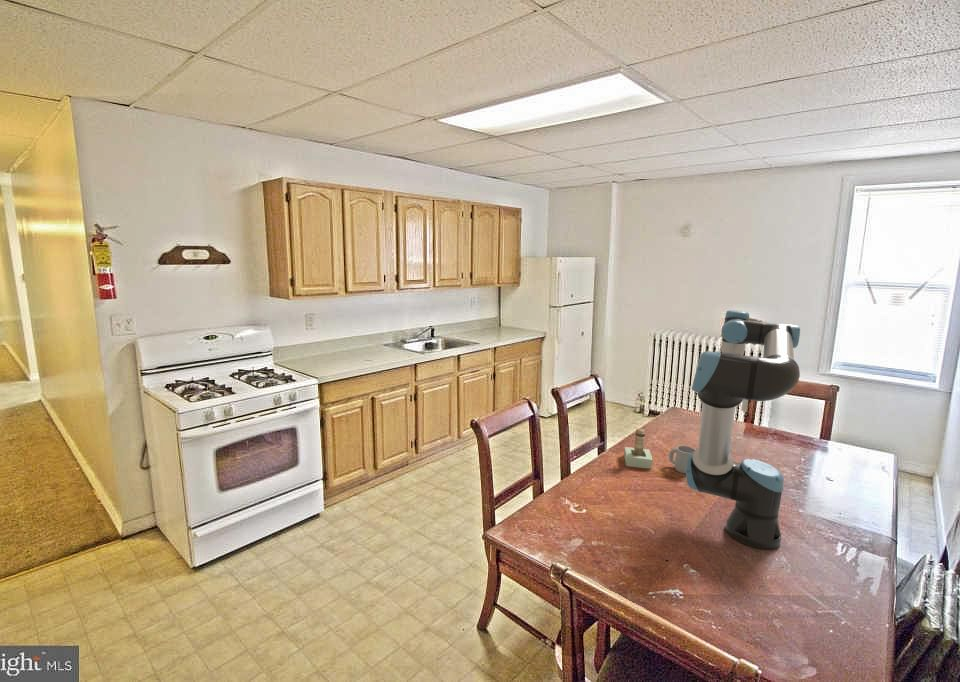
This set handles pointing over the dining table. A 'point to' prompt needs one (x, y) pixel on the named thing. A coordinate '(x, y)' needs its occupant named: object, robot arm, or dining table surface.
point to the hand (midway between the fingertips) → (724, 409)
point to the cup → (681, 457)
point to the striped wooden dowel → (639, 442)
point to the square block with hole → (638, 458)
